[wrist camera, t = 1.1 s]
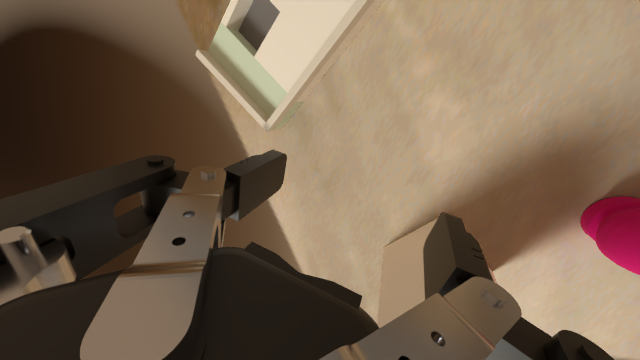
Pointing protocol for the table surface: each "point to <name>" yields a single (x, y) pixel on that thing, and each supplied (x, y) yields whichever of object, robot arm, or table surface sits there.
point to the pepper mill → (616, 230)
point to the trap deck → (281, 50)
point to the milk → (403, 275)
